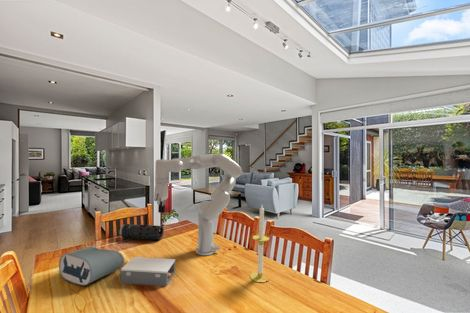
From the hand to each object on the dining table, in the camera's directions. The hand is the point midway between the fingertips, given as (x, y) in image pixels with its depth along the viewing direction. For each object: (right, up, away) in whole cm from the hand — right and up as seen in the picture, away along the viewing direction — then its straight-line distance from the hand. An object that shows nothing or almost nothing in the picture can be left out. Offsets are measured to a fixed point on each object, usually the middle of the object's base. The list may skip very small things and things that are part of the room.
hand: (161, 212), depth 132 cm
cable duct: (0, -28, -19) cm, 34 cm away
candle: (+55, -29, -17) cm, 65 cm away
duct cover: (0, -22, -20) cm, 29 cm away
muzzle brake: (-23, -26, +28) cm, 45 cm away
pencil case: (-29, -27, -18) cm, 43 cm away
